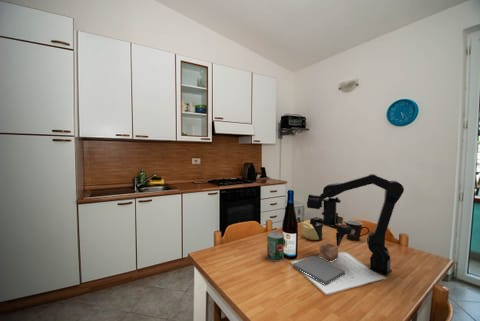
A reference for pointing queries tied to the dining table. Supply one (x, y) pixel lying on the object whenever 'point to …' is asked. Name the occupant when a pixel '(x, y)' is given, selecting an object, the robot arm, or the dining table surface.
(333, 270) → the charcoal board
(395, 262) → the dining table surface
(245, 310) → the dining table surface
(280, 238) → the canned tomato
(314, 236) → the pale yellow rounded lump
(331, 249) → the terracotta cube
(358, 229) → the coffee mug
